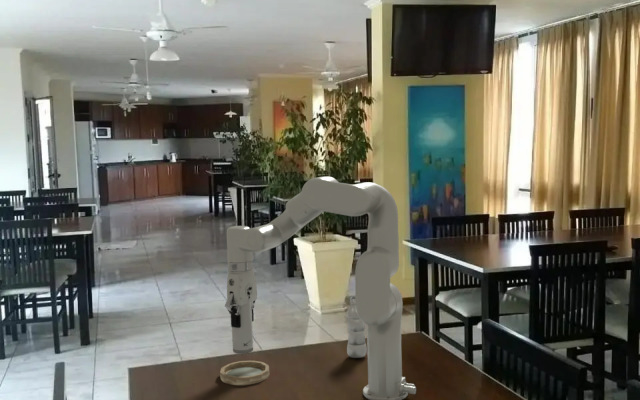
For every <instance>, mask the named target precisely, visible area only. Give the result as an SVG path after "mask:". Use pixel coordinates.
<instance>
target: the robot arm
mask: <svg viewBox="0 0 640 400" xmlns="http://www.w3.org/2000/svg"><path fill="white" fill-rule="evenodd" d="M324 212H326V213H330V214H331V213H332V214H337V215H343V216H348V217H360V216H364V215H366V214H367V215H368V225H367V246H366V247H367V248H366V251H363V252H362V253H361V255H360V256H359V257H358V259H357V262H356V265H355V272H354V273H355V274H354V276H355V278H354V279H355V281H354V282H355V283H354V285H355V286H354V287H355V294H354V295H355V296H354V297H356V311H357V314H358V316H359V318H360V319H361V320H362V321H363V322H364V323H365V325H366V337H367V339H366V347H367V352H366V353H367V380H368V381H367V382H368V384H367V385H366V386H364V387H363V389H362V394H363V396H364V398H366V399H368V400H404V399H406V398H407V397H408V395H409V394H412V395H415V394H417V387H416V385H415V384H414V383H408V382H407V381H406V376H403V361H402V357H403V356H402V353H403V352H402V317H403V303H404V302H403V296H402V293H401V291H400V289H399V288H398V287H397V286H396V285H395V284H393V283H391V278H392V277H393V276H395V274H397V272H398V271H399V267H400V255H399V254H400V253H399V250H400V247H399V246H400V245H399V213H398V207H397V203H396V200H395V198H394V196H393V195H392V194H391V192H390V191H389V190H388V189H386V187H384V186H382V185H380V184H377V183H375V182H369V181H368V182H367V181H366V182H359V183H355V184H350V183H344V182H339V181H338V179H336V178H334V177H332V176H325V175H324V176H320V177H313V178H310V179H309V180H307V181H306V182H305V183H304V185H303V187H302V188H301V191H300V192H299V193H297V194H296V195H295V196H293V197H292V198H290V199H289V200H288V201H287V202H286V203H285V209H284V211H283V212H282V213H281V214H280V215H278V216H277V217H276V218H274V219H272V220H271V221H270V222H269V223H266V224H263V225H260V226H256V227H249V226H247V225H235V226H230V227H228V228H227V230H226V252H227V253H226V254H227V281H226V282H227V283H226V299H227V300H226V302H225V305H224V307H225V308H226V309H227V311H228V312H229V313H228V314H229V315H230V327H231V328H232V327H236V328H240V327H241V318H240V315H239V311H240V306H243V305H245V304H247V303H248V301H251V304H252V323H253V322H254V320H255V319H254V318H255V317H254V309H255V304H256V300H257V299H258V289H257V280H256V274H255V269H254V267H253V266H254V264H253V262H254V261H253V254H255V253H256V254H258V253H263V252H266V251H268V250H271V249H274V248H276V247H278V246H279V245H281V244H282V243H284V242H286V241H287V240H289V239H290V238H291V237H292V236H293V237H294V235H296V234H297V233H298V232H299V231H300V230H302V229H303V228H304V226H306V225H307V224H309V223H310V222H312V221H313V220H314V219H316V218H317V217H318V216H320V215H321V214H322V213H324ZM250 287H252V290H249V289H250ZM247 289H248V290H247ZM247 292H250V295H248V294H247ZM247 295H248V296H250V298H251V299H250V298H249V297H248V296H247ZM248 299H250V300H248ZM233 302H235V303H236V304H233ZM234 306H236V310H235V308H234Z"/></svg>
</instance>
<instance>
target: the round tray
mask: <svg viewBox="0 0 640 400" xmlns="http://www.w3.org/2000/svg"><path fill="white" fill-rule="evenodd" d="M219 377H220V380H221V382H223V383H225V384H227V385H232V386H248V385H249V386H251V385H255V384H259V383H261V382H264V381H265V380H267V379H268V378H269V377H270V365H269V364H267V363H265V362H264V361H257V360H239V361H234V362H231V363H227V364H226V365H224V366H222V367H221V368H220V372H219Z"/></svg>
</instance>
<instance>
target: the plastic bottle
mask: <svg viewBox="0 0 640 400" xmlns="http://www.w3.org/2000/svg"><path fill="white" fill-rule="evenodd" d="M349 304H350V305H349V308H347V311H346V323H347V330H348V332H347V333H348V336H347V346H346V353H347V355H348V357H349V358H351V359H361V358H365V356H366V355H367V353H368V352H367V342H366V335H365V333H366V331H365V329H366V328H365V327H366V324H365V323H364V322H363V321H362V320H361V319H360V318H359V316H358V314H357V311H356V297H355V296H351V297H349Z"/></svg>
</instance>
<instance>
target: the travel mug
mask: <svg viewBox="0 0 640 400" xmlns="http://www.w3.org/2000/svg"><path fill="white" fill-rule="evenodd" d="M247 290H248V289H247ZM249 290H252V287H250V289H249ZM247 294H248V295H250V292H247ZM248 295H247V296H248ZM248 297H249V298H250V296H248ZM250 299H251V298H250ZM250 299H248V300H250ZM233 304H236V303H235V302H233ZM234 308H235V310H236V306H234ZM239 315H240V318H241V327H240V328H236V327H231V335H232V338H231V339H232V352H233V353H235V354H237V355H238V354H239V355H243V354H249V353H252V352H253V351H254V337H253V336H254V334H253V332H254V331H253V322H252V304H251V301H248V303H247V304H245V305H243V306H240V311H239Z"/></svg>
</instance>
